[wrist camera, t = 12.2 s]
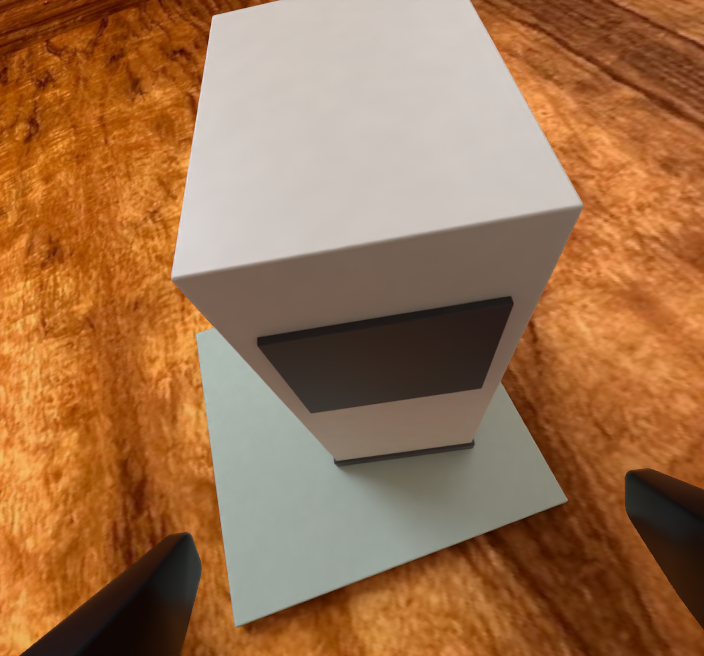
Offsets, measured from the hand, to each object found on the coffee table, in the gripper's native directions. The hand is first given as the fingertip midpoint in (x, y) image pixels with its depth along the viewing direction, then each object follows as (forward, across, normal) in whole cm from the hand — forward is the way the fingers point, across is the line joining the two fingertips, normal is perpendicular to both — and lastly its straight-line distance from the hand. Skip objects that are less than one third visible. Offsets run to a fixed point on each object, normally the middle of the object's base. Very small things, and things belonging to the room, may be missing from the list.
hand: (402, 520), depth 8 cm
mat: (+8, +2, +1) cm, 9 cm away
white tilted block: (+9, 0, 0) cm, 9 cm away
